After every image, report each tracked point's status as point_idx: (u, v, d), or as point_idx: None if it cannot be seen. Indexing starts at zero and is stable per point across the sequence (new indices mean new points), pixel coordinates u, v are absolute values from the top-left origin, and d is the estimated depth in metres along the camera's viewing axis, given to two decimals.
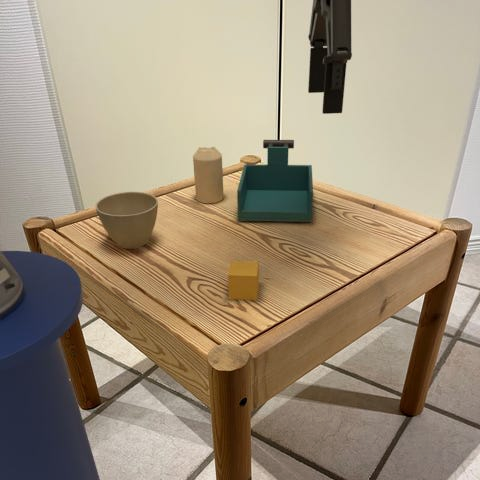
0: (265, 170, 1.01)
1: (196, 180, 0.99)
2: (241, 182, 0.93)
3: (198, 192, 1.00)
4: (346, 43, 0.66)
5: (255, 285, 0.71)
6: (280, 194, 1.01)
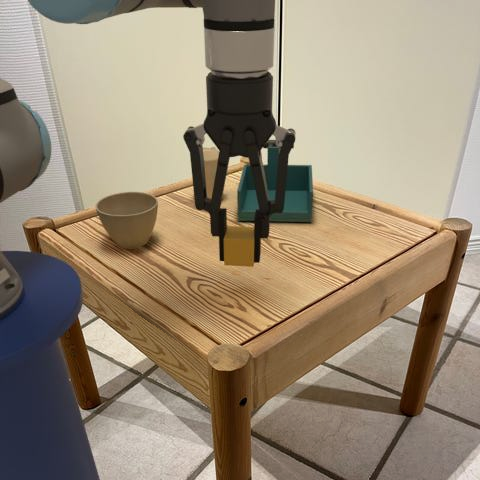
0: (265, 170, 1.01)
1: None
2: (241, 182, 0.93)
3: None
4: None
5: (252, 250, 0.67)
6: None
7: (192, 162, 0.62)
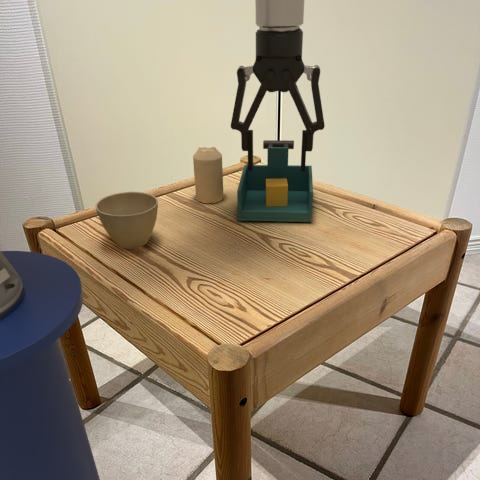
0: (265, 170, 1.01)
1: (196, 180, 0.99)
2: (241, 182, 0.93)
3: (198, 192, 1.00)
4: None
5: (286, 194, 0.95)
6: None
7: (238, 91, 0.86)
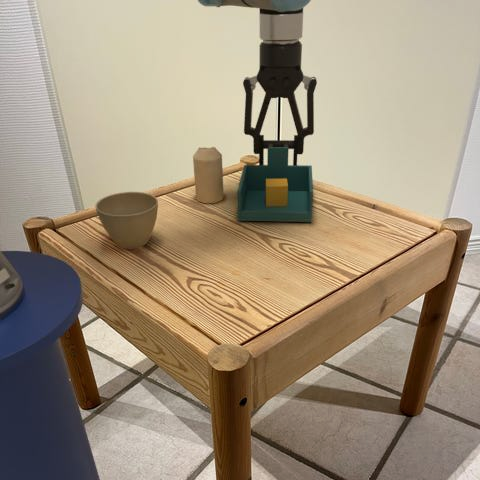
0: (265, 170, 1.01)
1: (196, 180, 0.99)
2: (241, 182, 0.93)
3: (198, 192, 1.00)
4: None
5: (286, 194, 0.95)
6: None
7: (246, 100, 0.96)
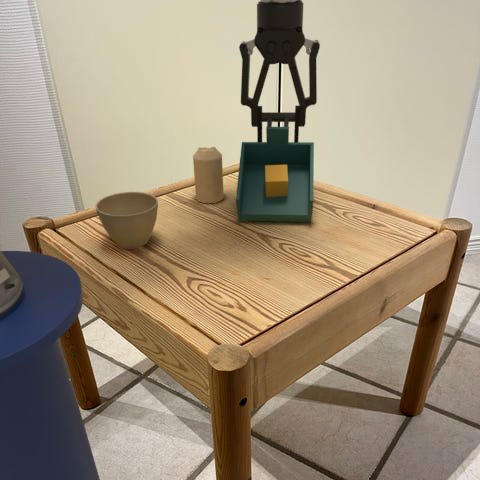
0: (265, 148, 0.95)
1: (196, 180, 0.99)
2: (239, 181, 0.90)
3: (198, 192, 1.00)
4: None
5: (286, 187, 0.92)
6: None
7: (243, 67, 0.88)
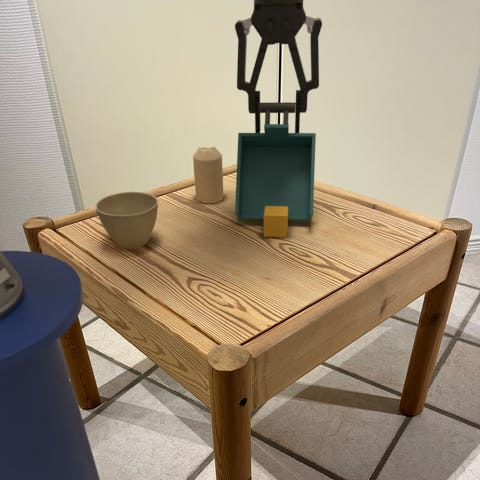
0: (263, 138, 0.88)
1: (196, 180, 0.99)
2: (238, 189, 0.87)
3: (198, 192, 1.00)
4: None
5: None
6: (280, 160, 0.92)
7: (239, 48, 0.81)
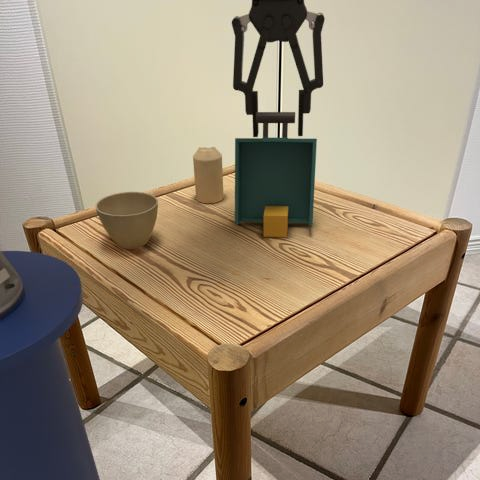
0: (261, 142, 0.84)
1: (196, 180, 0.99)
2: (237, 199, 0.86)
3: (198, 192, 1.00)
4: None
5: None
6: (280, 157, 0.88)
7: (236, 46, 0.77)
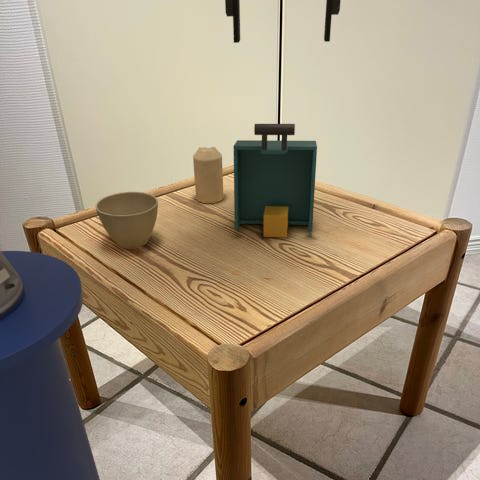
0: None
1: (196, 180, 0.99)
2: (236, 206, 0.86)
3: (198, 192, 1.00)
4: None
5: None
6: (280, 159, 0.87)
7: None
